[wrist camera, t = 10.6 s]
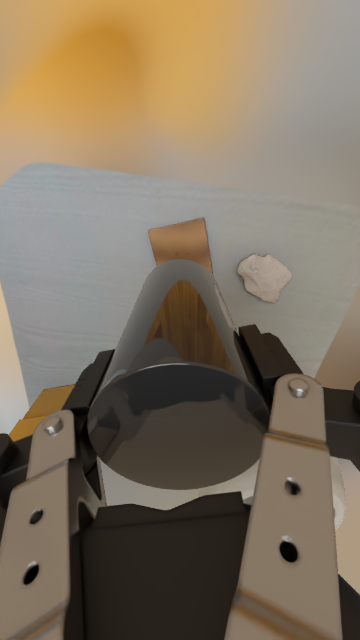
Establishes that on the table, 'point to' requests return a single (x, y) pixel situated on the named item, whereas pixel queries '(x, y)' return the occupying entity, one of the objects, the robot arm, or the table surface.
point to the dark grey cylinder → (179, 388)
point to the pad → (181, 243)
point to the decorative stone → (264, 276)
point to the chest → (49, 402)
